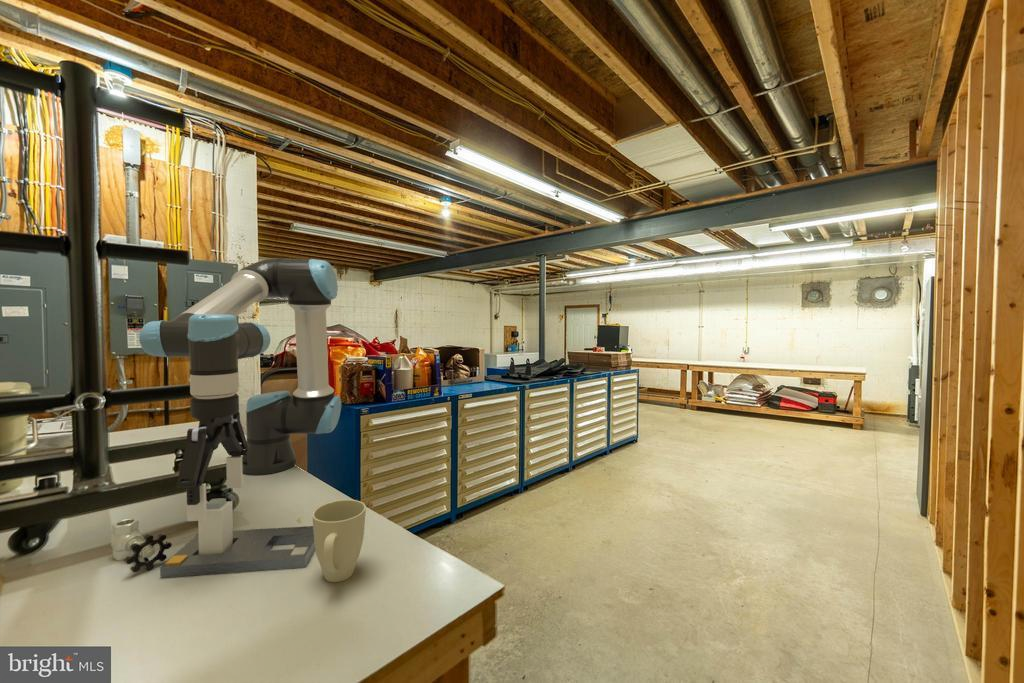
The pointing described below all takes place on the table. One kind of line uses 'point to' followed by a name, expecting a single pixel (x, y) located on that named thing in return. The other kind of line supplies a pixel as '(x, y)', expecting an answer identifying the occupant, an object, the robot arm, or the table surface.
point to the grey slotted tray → (245, 553)
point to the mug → (339, 537)
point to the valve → (136, 545)
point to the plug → (216, 528)
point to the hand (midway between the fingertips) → (217, 502)
